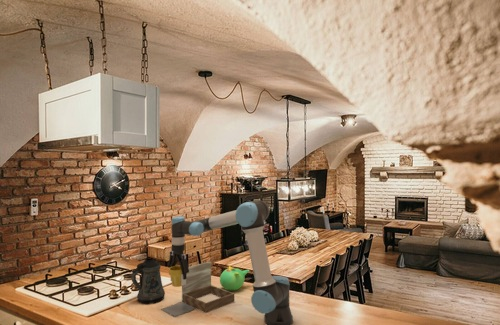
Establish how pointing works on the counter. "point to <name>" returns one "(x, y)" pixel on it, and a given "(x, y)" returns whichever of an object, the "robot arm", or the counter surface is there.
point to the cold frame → (203, 289)
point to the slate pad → (178, 309)
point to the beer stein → (149, 282)
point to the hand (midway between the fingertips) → (178, 282)
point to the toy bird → (232, 278)
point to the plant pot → (175, 275)
